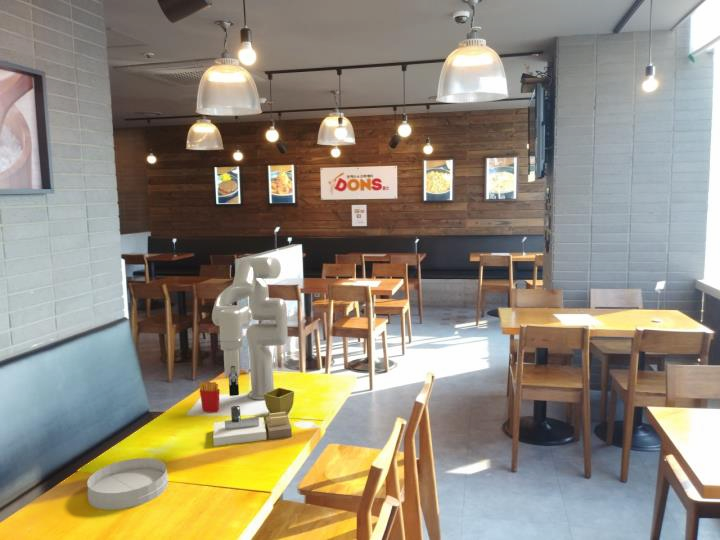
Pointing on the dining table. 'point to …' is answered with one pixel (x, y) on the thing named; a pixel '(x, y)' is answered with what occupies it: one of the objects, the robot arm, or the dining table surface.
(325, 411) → the dining table surface
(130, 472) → the dish
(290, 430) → the slide latch panel
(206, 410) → the french fries
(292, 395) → the flower pot
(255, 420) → the bolt
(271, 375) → the robot arm
